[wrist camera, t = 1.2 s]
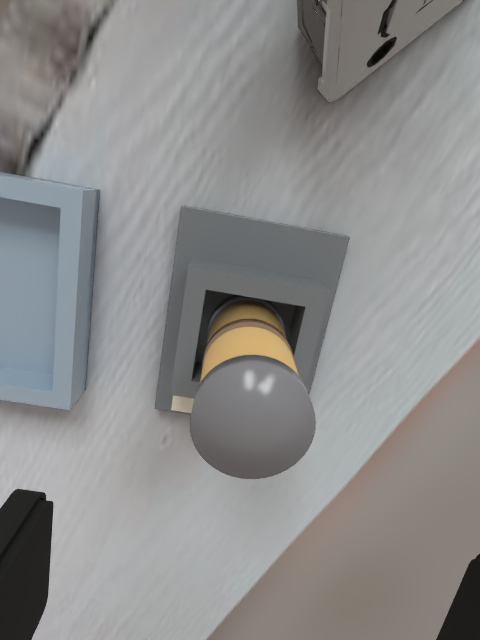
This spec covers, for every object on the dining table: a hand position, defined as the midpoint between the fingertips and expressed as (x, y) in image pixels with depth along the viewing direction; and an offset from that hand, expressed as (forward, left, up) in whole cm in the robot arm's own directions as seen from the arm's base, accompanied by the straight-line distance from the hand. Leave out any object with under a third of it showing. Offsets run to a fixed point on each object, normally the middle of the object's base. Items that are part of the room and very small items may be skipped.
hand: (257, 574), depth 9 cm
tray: (0, -15, -16) cm, 22 cm away
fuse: (-1, 0, -15) cm, 15 cm away
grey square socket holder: (0, 0, -16) cm, 16 cm away
